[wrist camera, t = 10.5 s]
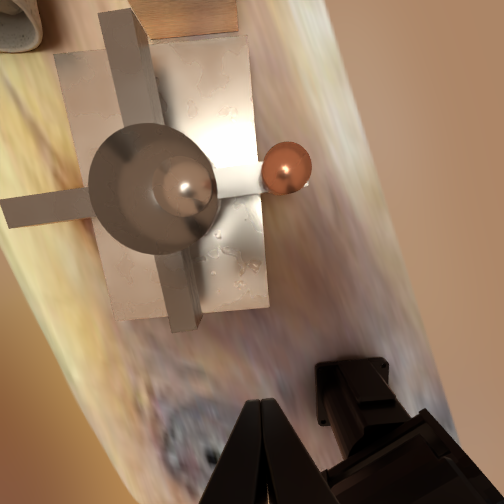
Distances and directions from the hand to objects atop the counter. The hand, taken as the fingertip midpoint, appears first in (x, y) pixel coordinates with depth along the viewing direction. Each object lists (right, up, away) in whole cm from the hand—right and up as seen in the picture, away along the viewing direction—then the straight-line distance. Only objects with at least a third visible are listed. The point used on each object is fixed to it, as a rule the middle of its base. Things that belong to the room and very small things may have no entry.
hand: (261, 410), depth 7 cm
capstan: (-6, +8, +8) cm, 13 cm away
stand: (-6, +12, +11) cm, 17 cm away
